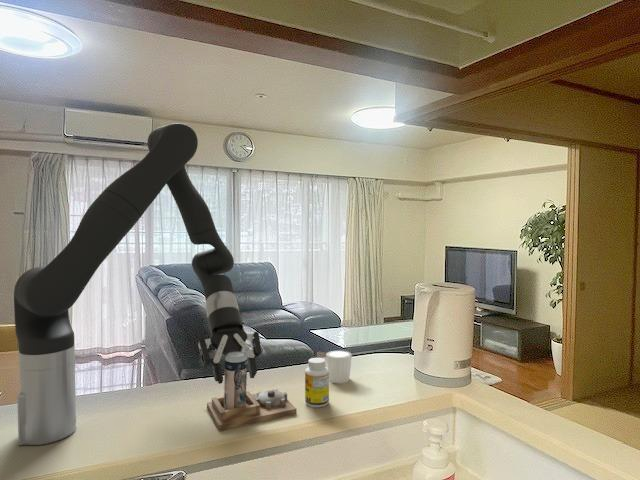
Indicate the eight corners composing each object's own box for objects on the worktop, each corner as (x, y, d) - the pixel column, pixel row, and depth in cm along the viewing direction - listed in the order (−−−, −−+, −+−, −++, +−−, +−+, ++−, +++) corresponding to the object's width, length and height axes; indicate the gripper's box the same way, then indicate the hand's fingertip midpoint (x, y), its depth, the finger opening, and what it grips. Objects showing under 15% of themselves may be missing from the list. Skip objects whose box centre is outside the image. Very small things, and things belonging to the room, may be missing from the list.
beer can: (240, 414, 89) (242, 358, 89) (220, 411, 90) (221, 356, 90) (249, 404, 94) (250, 352, 93) (229, 402, 95) (230, 350, 94)
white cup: (352, 384, 109) (352, 357, 109) (326, 384, 109) (326, 357, 109) (350, 374, 116) (350, 349, 116) (326, 374, 116) (326, 349, 116)
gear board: (219, 431, 84) (219, 414, 84) (207, 407, 95) (206, 393, 95) (296, 414, 92) (296, 398, 92) (277, 394, 102) (277, 380, 102)
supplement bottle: (305, 398, 100) (305, 356, 100) (328, 398, 100) (328, 356, 100) (305, 408, 94) (305, 364, 94) (329, 408, 95) (329, 363, 94)
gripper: (194, 308, 94) (205, 376, 84) (255, 303, 101) (273, 365, 91) (191, 326, 99) (201, 393, 89) (249, 320, 106) (265, 381, 96)
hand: (237, 379), depth 90 cm, fingers open, 6 cm apart
